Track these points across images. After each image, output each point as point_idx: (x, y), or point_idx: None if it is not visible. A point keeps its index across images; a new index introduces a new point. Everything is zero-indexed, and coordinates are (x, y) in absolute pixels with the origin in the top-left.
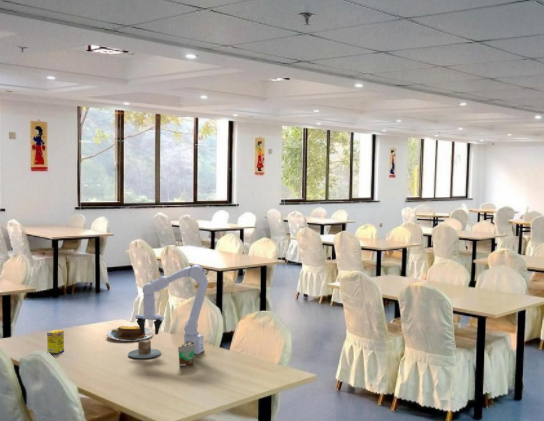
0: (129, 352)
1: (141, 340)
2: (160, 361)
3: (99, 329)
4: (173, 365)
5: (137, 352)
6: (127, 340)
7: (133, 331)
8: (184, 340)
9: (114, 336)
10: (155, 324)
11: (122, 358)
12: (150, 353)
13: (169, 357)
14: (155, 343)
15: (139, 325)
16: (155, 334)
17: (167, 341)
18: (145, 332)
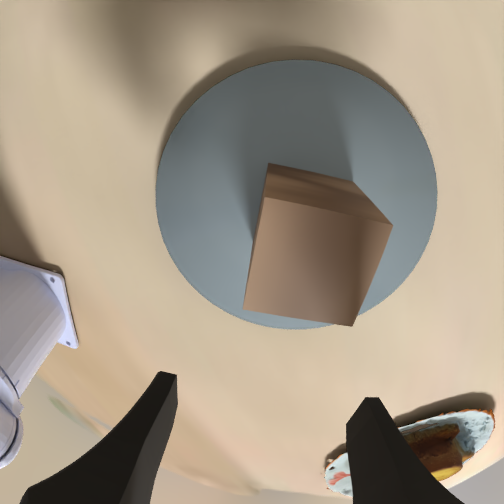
0: (432, 218)
1: (360, 293)
2: (106, 49)
3: (480, 458)
4: (20, 14)
5: None
6: (431, 418)
7: None
8: (14, 333)
9: (467, 434)
10: (93, 495)
11: (452, 103)
12: (241, 199)
13: (80, 165)
14: (291, 422)
15: (430, 483)
16: (172, 374)
17: (240, 440)
18: None
